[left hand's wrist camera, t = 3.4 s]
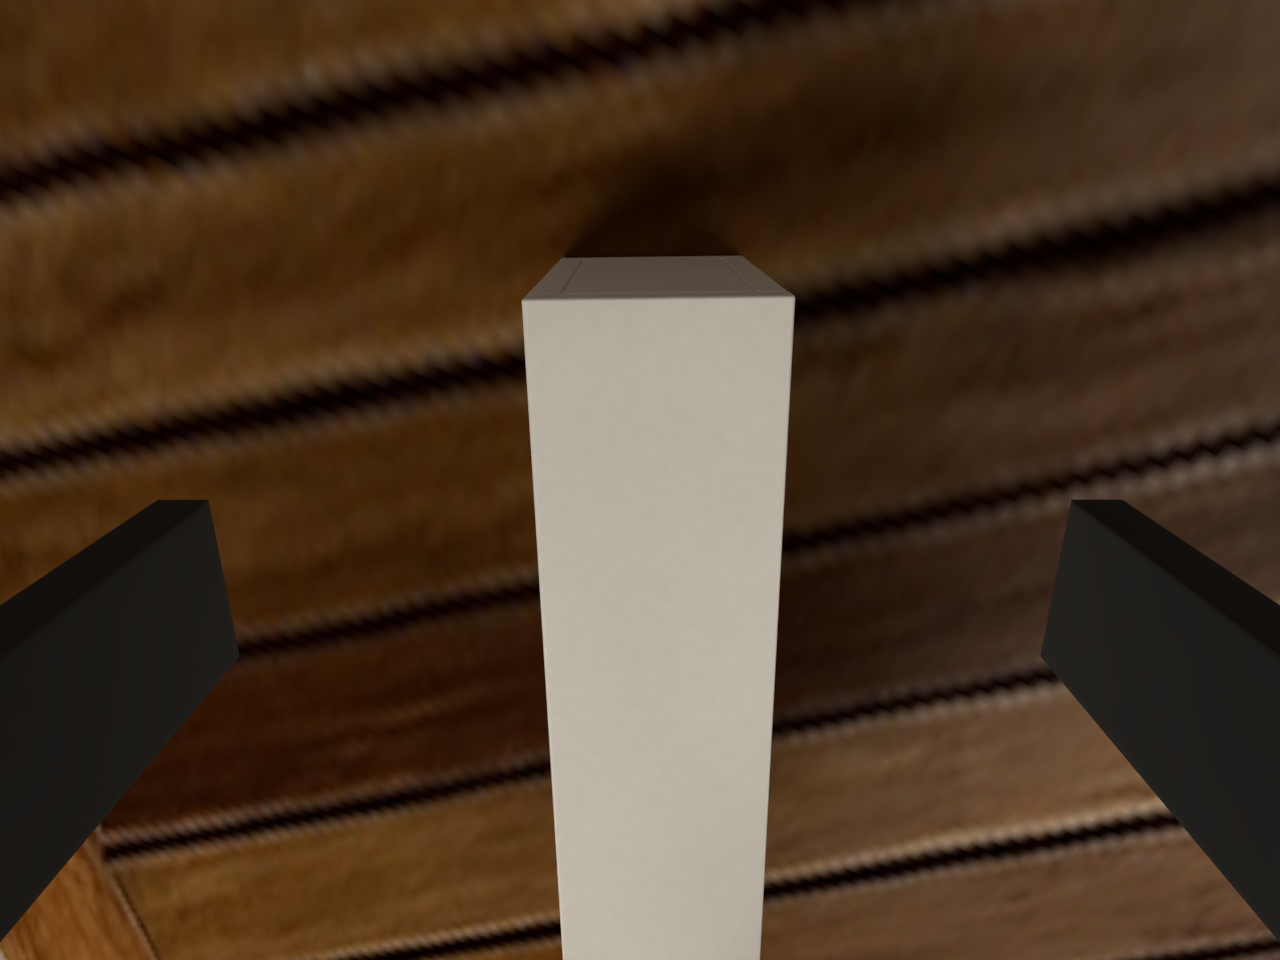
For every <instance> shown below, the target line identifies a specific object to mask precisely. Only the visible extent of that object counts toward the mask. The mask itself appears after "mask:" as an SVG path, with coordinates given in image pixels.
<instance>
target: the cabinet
mask: <svg viewBox="0 0 1280 960" xmlns="http://www.w3.org/2000/svg"><path fill="white" fill-rule="evenodd" d="M794 310H795V296H794V295H793V294H791V293H790V292H788V291H787V290H785V289H784V288H783V287H781V286H780V285H779V284H777V283H776V282H775V281H774V280H772V279H771V278H770V277H768V276H767V275H766V274H765V273H763V272H762V271H761V270H759V269H758V268H757V267H755V266H754V265H753V264H752V263H750V262H749V261H748V260H746V259H745V257H743V256H671V257H595V258H561V259H560V260H559V262H558V263H557V264H556V265H555V266H554V267H553V268H552V269H551V270H550V271H549V272H548V273H547V274H546V275H545V276H544V277H543V279H542V280H541V281H540V282H539V283H538V284H537V285H536V286H535V287H534V288H533V289H532V290H531V291H530V292H529V293H528V294H527V295H526V296H525V297H524V298H523V299H522V314H523V330H524V346H525V362H526V378H527V394H528V410H529V426H530V442H531V458H532V474H533V490H534V506H535V522H536V538H537V554H538V570H539V586H540V602H541V618H542V634H543V650H544V666H545V682H546V698H547V714H548V730H549V746H550V762H551V778H552V794H553V810H554V826H555V842H556V858H557V874H558V890H559V906H560V922H561V938H562V954H563V960H760V947H761V929H762V910H763V891H764V872H765V854H766V835H767V816H768V797H769V779H770V760H771V741H772V722H773V704H774V685H775V666H776V648H777V629H778V610H779V591H780V573H781V554H782V535H783V516H784V498H785V479H786V460H787V441H788V423H789V404H790V385H791V366H792V348H793V329H794Z"/></svg>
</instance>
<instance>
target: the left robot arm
mask: <svg viewBox="0 0 1280 960" xmlns="http://www.w3.org/2000/svg"><path fill="white" fill-rule="evenodd" d="M238 657H239V651H238V646H237V641H236V636H235V631H234V626H233V621H232V616H231V611H230V606H229V601H228V596H227V591H226V586H225V581H224V576H223V571H222V566H221V561H220V556H219V551H218V546H217V541H216V536H215V531H214V526H213V521H212V516H211V511H210V506H209V501H208V500H157V501H155V502H154V503H152V504H151V505H150V506H148V507H147V508H145V509H144V510H142V511H141V512H139V513H138V514H136V515H135V516H133V517H132V518H130V519H129V520H127V521H126V522H124V523H123V524H121V525H120V526H118V527H117V528H115V529H114V530H112V531H111V532H109V533H108V534H106V535H105V536H103V537H102V538H100V539H99V540H97V541H96V542H94V543H93V544H91V545H90V546H88V547H87V548H85V549H84V550H82V551H81V552H79V553H78V554H76V555H75V556H73V557H72V558H70V559H69V560H67V561H66V562H64V563H63V564H61V565H60V566H58V567H57V568H55V569H54V570H52V571H51V572H49V573H48V574H46V575H45V576H43V577H42V578H40V579H39V580H37V581H36V582H34V583H33V584H31V585H30V586H28V587H27V588H25V589H24V590H22V591H21V592H19V593H18V594H16V595H15V596H14V597H12V598H11V599H9V600H8V601H6V602H5V603H3V604H2V605H0V942H1V941H2V939H3V938H4V937H5V936H6V935H7V933H8V932H9V931H10V930H11V929H12V927H13V926H14V925H15V924H16V923H17V922H18V920H19V919H20V918H21V917H22V916H23V914H24V913H25V912H26V911H27V910H28V908H29V907H30V906H31V905H32V904H33V902H34V901H35V900H36V899H37V898H38V896H39V895H40V894H41V893H42V892H43V890H44V889H45V888H46V887H47V886H48V884H49V883H50V882H51V881H52V880H53V878H54V877H55V876H56V875H57V874H58V872H59V871H60V870H61V869H62V868H63V867H64V865H65V864H66V863H67V862H68V861H69V859H70V858H71V857H72V856H73V855H74V853H75V852H76V851H77V850H78V849H79V847H80V846H81V845H82V844H83V843H84V841H85V840H86V839H87V838H88V837H89V835H90V834H91V833H92V832H93V831H94V829H95V828H96V827H97V826H98V825H99V823H100V822H101V821H102V820H103V819H104V817H105V816H106V815H107V814H108V813H109V812H110V810H111V809H112V808H113V807H114V806H115V804H116V803H117V802H118V801H119V800H120V798H121V797H122V796H123V795H124V794H125V792H126V791H127V790H128V789H129V788H130V786H131V785H132V784H133V783H134V782H135V780H136V779H137V778H138V777H139V776H140V774H141V773H142V772H143V771H144V770H145V768H146V767H147V766H148V765H149V764H150V763H151V761H152V760H153V759H154V758H155V757H156V755H157V754H158V753H159V752H160V751H161V749H162V748H163V747H164V746H165V745H166V743H167V742H168V741H169V740H170V739H171V737H172V736H173V735H174V734H175V733H176V731H177V730H178V729H179V728H180V727H181V725H182V724H183V723H184V722H185V721H186V719H187V718H188V717H189V716H190V715H191V713H192V712H193V711H194V710H195V709H196V708H197V706H198V705H199V704H200V703H201V702H202V700H203V699H204V698H205V697H206V696H207V694H208V693H209V692H210V691H211V690H212V688H213V687H214V686H215V685H216V684H217V682H218V681H219V680H220V679H221V678H222V676H223V675H224V674H225V673H226V672H227V670H228V669H229V668H230V667H231V666H232V664H233V663H234V662H235V661H236V660H237V658H238ZM1041 657H1042V658H1043V660H1044V661H1045V662H1046V663H1047V664H1048V666H1049V667H1050V668H1051V669H1052V670H1053V672H1054V673H1055V674H1056V675H1057V676H1058V678H1059V679H1060V680H1061V681H1062V682H1063V684H1064V685H1065V686H1066V687H1067V688H1068V690H1069V691H1070V692H1071V693H1072V694H1073V696H1074V697H1075V698H1076V699H1077V700H1078V702H1079V703H1080V704H1081V705H1082V706H1083V708H1084V709H1085V710H1086V711H1087V712H1088V713H1089V715H1090V716H1091V717H1092V718H1093V719H1094V721H1095V722H1096V723H1097V724H1098V725H1099V727H1100V728H1101V729H1102V730H1103V731H1104V733H1105V734H1106V735H1107V736H1108V737H1109V739H1110V740H1111V741H1112V742H1113V743H1114V745H1115V746H1116V747H1117V748H1118V749H1119V751H1120V752H1121V753H1122V754H1123V755H1124V757H1125V758H1126V759H1127V760H1128V761H1129V763H1130V764H1131V765H1132V766H1133V767H1134V768H1135V770H1136V771H1137V772H1138V773H1139V774H1140V776H1141V777H1142V778H1143V779H1144V780H1145V782H1146V783H1147V784H1148V785H1149V786H1150V788H1151V789H1152V790H1153V791H1154V792H1155V794H1156V795H1157V796H1158V797H1159V798H1160V800H1161V801H1162V802H1163V803H1164V804H1165V806H1166V807H1167V808H1168V809H1169V810H1170V812H1171V813H1172V814H1173V815H1174V816H1175V817H1176V819H1177V820H1178V821H1179V822H1180V823H1181V825H1182V826H1183V827H1184V828H1185V829H1186V831H1187V832H1188V833H1189V834H1190V835H1191V837H1192V838H1193V839H1194V840H1195V841H1196V843H1197V844H1198V845H1199V846H1200V847H1201V849H1202V850H1203V851H1204V852H1205V853H1206V855H1207V856H1208V857H1209V858H1210V859H1211V861H1212V862H1213V863H1214V864H1215V865H1216V867H1217V868H1218V869H1219V870H1220V871H1221V872H1222V874H1223V875H1224V876H1225V877H1226V878H1227V880H1228V881H1229V882H1230V883H1231V884H1232V886H1233V887H1234V888H1235V889H1236V890H1237V892H1238V893H1239V894H1240V895H1241V896H1242V898H1243V899H1244V900H1245V901H1246V902H1247V904H1248V905H1249V906H1250V907H1251V908H1252V910H1253V911H1254V912H1255V913H1256V914H1257V916H1258V917H1259V918H1260V919H1261V920H1262V922H1263V923H1264V924H1265V925H1266V926H1267V927H1268V929H1269V930H1270V931H1271V932H1272V933H1273V935H1274V936H1275V937H1276V938H1277V939H1278V941H1279V942H1280V605H1278V604H1277V603H1275V602H1274V601H1272V600H1271V599H1269V598H1268V597H1266V596H1265V595H1264V594H1262V593H1261V592H1259V591H1258V590H1256V589H1255V588H1253V587H1252V586H1250V585H1249V584H1247V583H1246V582H1244V581H1243V580H1241V579H1240V578H1238V577H1237V576H1235V575H1234V574H1232V573H1231V572H1229V571H1228V570H1226V569H1225V568H1223V567H1222V566H1220V565H1219V564H1217V563H1216V562H1214V561H1213V560H1211V559H1210V558H1208V557H1207V556H1205V555H1204V554H1202V553H1201V552H1199V551H1198V550H1196V549H1195V548H1193V547H1192V546H1190V545H1189V544H1187V543H1186V542H1184V541H1183V540H1181V539H1180V538H1178V537H1177V536H1175V535H1174V534H1172V533H1171V532H1169V531H1168V530H1166V529H1165V528H1163V527H1162V526H1160V525H1159V524H1157V523H1156V522H1154V521H1153V520H1151V519H1150V518H1148V517H1147V516H1145V515H1144V514H1142V513H1141V512H1139V511H1138V510H1136V509H1135V508H1133V507H1132V506H1130V505H1129V504H1128V503H1126V502H1125V501H1123V500H1072V501H1071V506H1070V511H1069V516H1068V521H1067V526H1066V531H1065V536H1064V541H1063V546H1062V551H1061V556H1060V561H1059V566H1058V571H1057V576H1056V581H1055V586H1054V591H1053V596H1052V601H1051V606H1050V611H1049V616H1048V621H1047V626H1046V631H1045V636H1044V641H1043V646H1042V651H1041Z"/></svg>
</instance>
